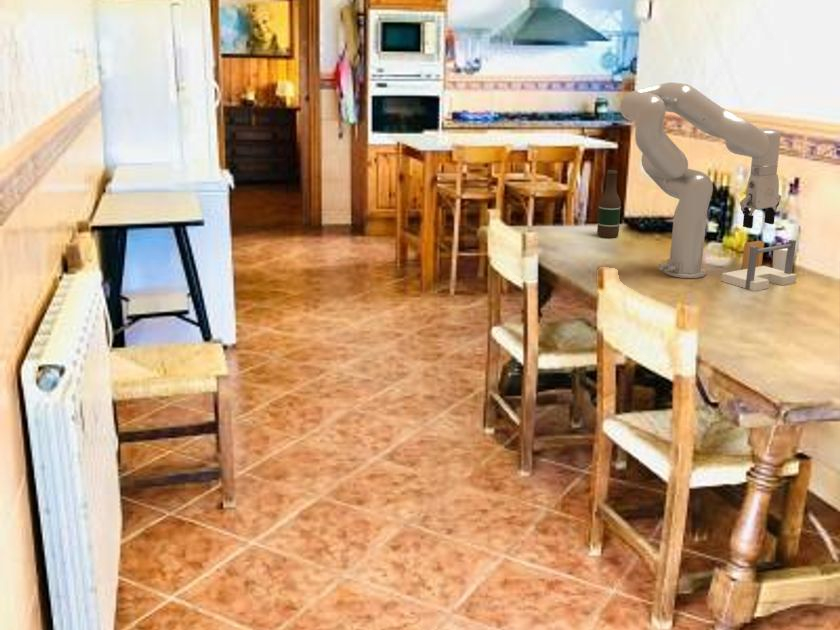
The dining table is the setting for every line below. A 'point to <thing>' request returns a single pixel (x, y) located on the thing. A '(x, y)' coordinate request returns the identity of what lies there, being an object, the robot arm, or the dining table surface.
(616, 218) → the beer bottle
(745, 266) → the orange u-shaped block
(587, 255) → the dining table surface
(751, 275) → the hanging rack
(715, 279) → the dining table surface
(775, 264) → the beige cube
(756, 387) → the dining table surface
